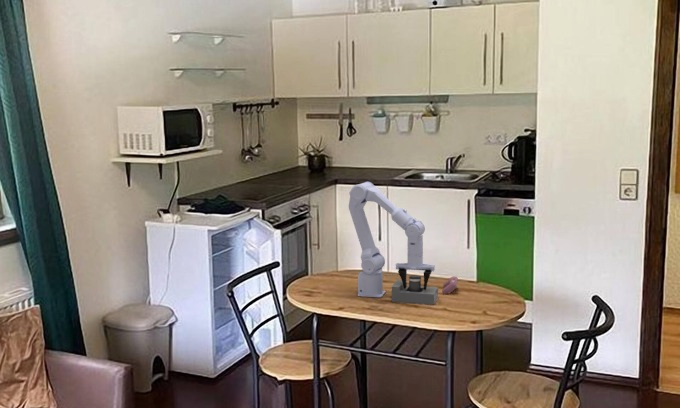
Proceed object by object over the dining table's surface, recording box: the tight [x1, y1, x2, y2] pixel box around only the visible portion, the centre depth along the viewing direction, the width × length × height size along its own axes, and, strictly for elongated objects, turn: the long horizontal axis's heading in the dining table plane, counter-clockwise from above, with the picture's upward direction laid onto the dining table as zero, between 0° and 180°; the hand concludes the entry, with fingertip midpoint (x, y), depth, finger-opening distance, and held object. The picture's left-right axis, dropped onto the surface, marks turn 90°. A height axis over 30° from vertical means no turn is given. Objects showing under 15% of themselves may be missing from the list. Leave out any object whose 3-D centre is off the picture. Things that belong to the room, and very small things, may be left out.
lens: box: [408, 274, 422, 292], centre depth 264 cm, size 5×5×8 cm
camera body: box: [391, 279, 439, 306], centre depth 265 cm, size 16×10×6 cm, turn 74°
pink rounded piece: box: [442, 276, 458, 295], centre depth 276 cm, size 10×5×7 cm, turn 169°
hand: (415, 288), depth 265 cm, fingers open, 7 cm apart
